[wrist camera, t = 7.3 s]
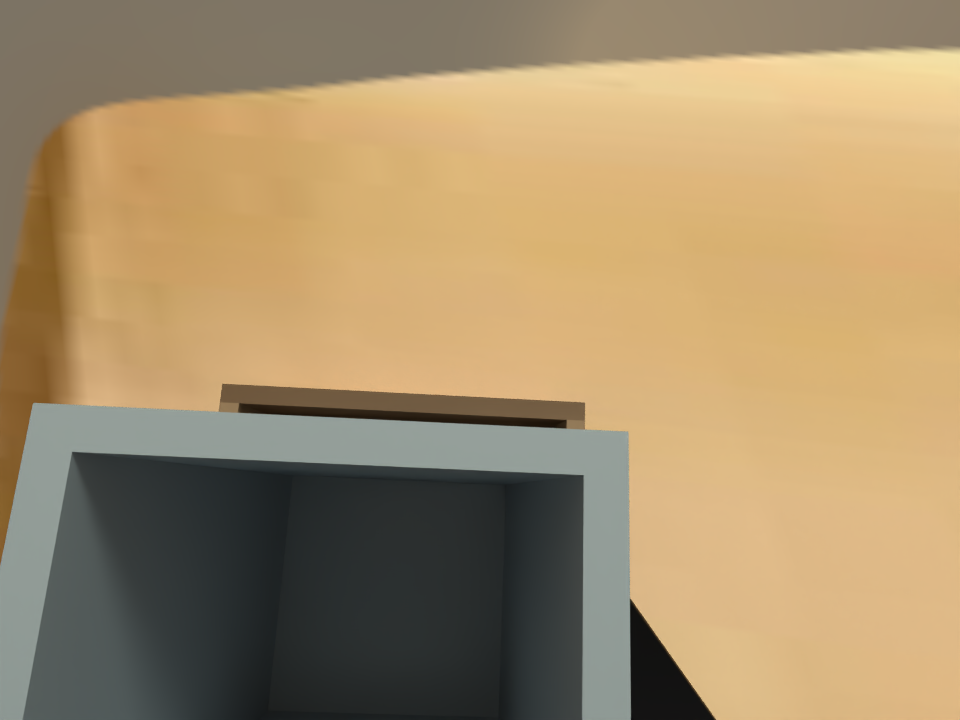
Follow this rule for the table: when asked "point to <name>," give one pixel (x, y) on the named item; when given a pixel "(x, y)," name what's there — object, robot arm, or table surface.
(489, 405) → the walnut crate
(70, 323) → the table surface
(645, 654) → the robot arm
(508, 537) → the grey crate
